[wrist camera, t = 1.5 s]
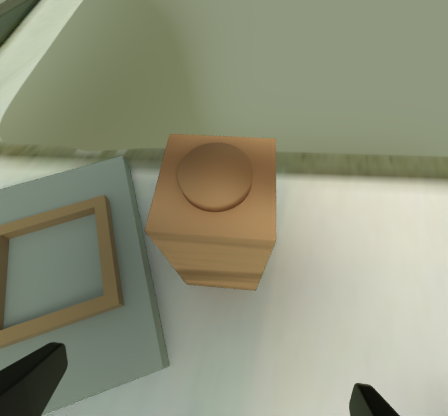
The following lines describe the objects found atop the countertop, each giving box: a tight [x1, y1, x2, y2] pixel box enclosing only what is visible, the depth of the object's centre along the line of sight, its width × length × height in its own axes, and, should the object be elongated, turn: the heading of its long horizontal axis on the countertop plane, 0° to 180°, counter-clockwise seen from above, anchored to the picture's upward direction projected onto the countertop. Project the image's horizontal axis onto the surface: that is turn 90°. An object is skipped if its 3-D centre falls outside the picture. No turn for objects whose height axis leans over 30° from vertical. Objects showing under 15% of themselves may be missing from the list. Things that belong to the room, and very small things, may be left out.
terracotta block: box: [145, 134, 276, 291], centre depth 18 cm, size 6×6×13 cm
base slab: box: [0, 156, 169, 415], centre depth 22 cm, size 20×14×3 cm
